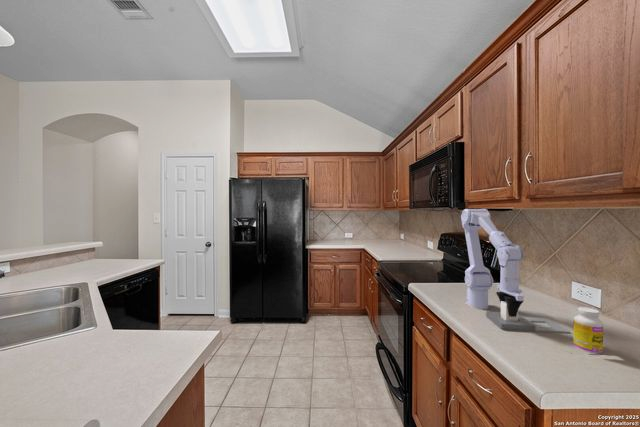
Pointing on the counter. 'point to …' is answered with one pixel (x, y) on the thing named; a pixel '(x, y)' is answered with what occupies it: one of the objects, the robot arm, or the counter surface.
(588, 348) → the supplement bottle
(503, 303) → the plug block
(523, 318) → the jack panel
